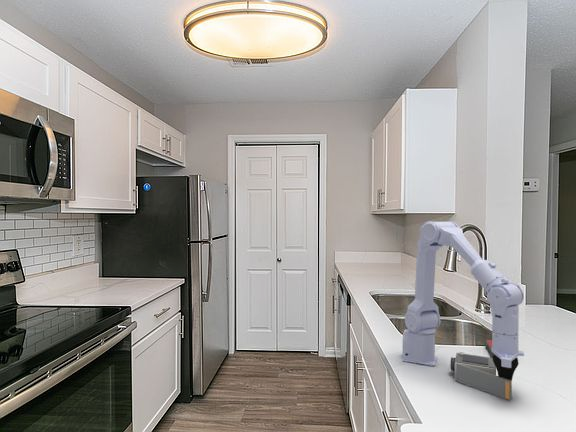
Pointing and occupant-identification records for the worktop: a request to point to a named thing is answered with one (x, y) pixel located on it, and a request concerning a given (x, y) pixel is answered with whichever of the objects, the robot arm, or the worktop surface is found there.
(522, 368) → the worktop surface
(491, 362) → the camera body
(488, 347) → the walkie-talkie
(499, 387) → the side door
